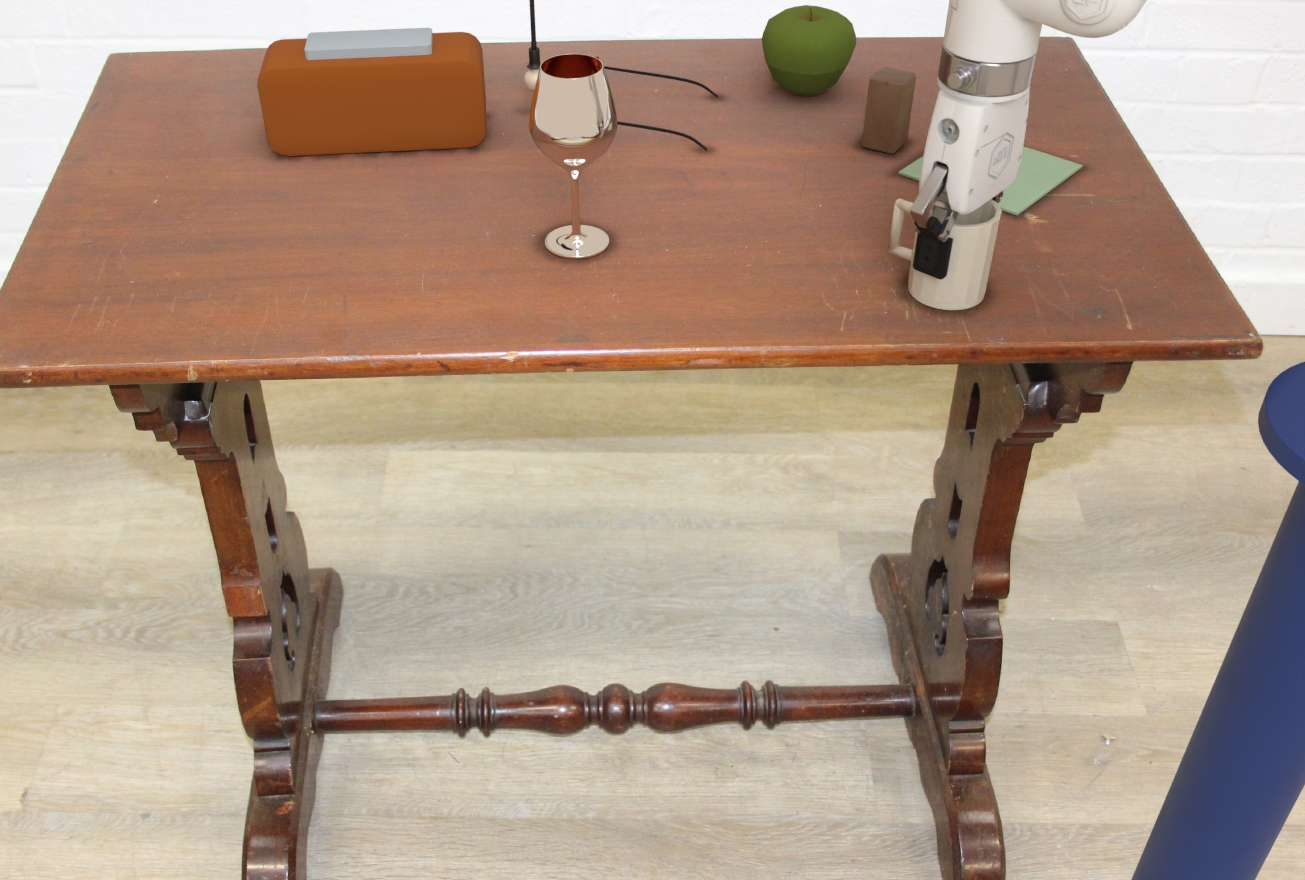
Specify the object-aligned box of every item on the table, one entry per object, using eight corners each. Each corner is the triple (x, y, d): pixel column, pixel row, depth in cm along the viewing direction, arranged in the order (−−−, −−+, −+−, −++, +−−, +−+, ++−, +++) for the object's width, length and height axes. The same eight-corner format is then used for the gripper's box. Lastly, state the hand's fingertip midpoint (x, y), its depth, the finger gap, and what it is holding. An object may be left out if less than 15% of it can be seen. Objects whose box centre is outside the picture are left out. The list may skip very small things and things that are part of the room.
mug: (999, 288, 124) (1016, 205, 118) (959, 319, 120) (975, 235, 114) (906, 252, 129) (918, 172, 124) (865, 281, 125) (876, 199, 120)
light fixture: (564, 119, 153) (556, -108, 137) (506, 120, 153) (492, -108, 137) (566, 95, 158) (559, -127, 142) (510, 95, 158) (497, -126, 142)
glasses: (593, 90, 159) (597, 50, 156) (715, 110, 158) (722, 70, 155) (572, 143, 148) (577, 101, 145) (704, 165, 148) (711, 123, 144)
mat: (1082, 167, 142) (1082, 165, 142) (1017, 215, 134) (1017, 213, 134) (966, 130, 149) (966, 127, 149) (898, 174, 142) (898, 171, 141)
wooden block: (893, 155, 145) (903, 85, 140) (859, 147, 147) (868, 77, 141) (907, 141, 147) (918, 72, 142) (874, 133, 149) (883, 64, 144)
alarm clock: (487, 116, 154) (480, 19, 147) (487, 148, 148) (480, 48, 141) (278, 125, 153) (261, 28, 146) (269, 158, 147) (251, 58, 139)
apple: (756, 107, 155) (761, 22, 148) (760, 71, 163) (766, -11, 156) (850, 111, 154) (860, 26, 147) (850, 75, 162) (859, -7, 155)
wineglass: (539, 266, 128) (530, 87, 116) (531, 225, 134) (522, 51, 123) (623, 260, 129) (623, 81, 117) (611, 219, 135) (610, 45, 123)
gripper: (971, 114, 103) (937, 310, 114) (1077, 48, 113) (1036, 234, 124) (889, 89, 107) (863, 280, 118) (997, 26, 117) (964, 208, 128)
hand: (952, 255), depth 121 cm, fingers closed on mug, 7 cm apart
